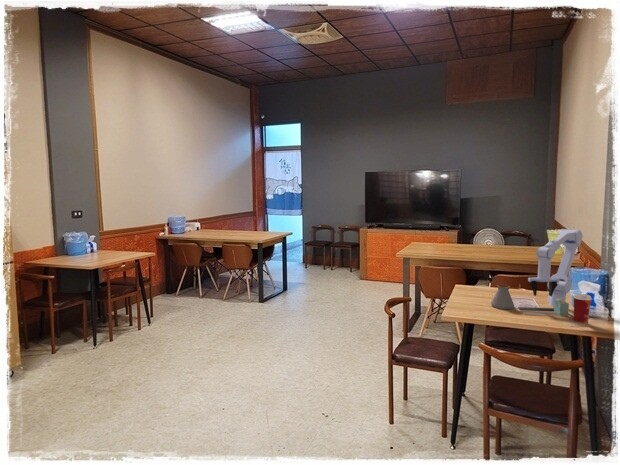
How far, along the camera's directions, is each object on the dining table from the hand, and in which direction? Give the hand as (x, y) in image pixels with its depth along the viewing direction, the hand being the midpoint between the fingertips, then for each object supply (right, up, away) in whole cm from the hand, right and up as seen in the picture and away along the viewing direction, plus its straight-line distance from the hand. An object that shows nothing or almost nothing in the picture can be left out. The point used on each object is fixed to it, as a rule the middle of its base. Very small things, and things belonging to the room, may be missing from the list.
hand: (542, 295), depth 224 cm
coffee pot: (-18, -8, +13) cm, 23 cm away
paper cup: (+10, -12, -16) cm, 22 cm away
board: (-1, -10, -4) cm, 11 cm away
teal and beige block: (+7, -9, -5) cm, 12 cm away
